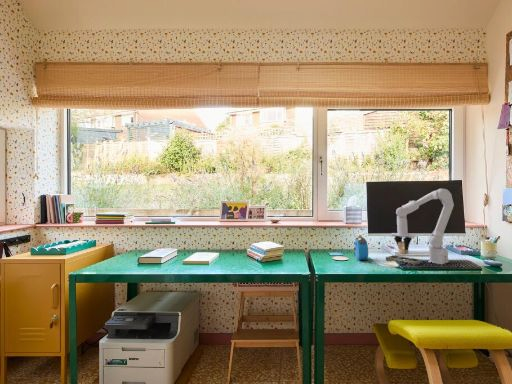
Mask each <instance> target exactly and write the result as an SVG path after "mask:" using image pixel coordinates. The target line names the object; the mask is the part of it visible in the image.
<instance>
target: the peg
mask: <svg viewBox="0 0 512 384" xmlns="http://www.w3.org/2000/svg"><path fill="white" fill-rule="evenodd" d="M397 248H398V254H399V255H407V254H409V249H408V250H405V243H404V240H402V242H398V245H397Z"/></svg>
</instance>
